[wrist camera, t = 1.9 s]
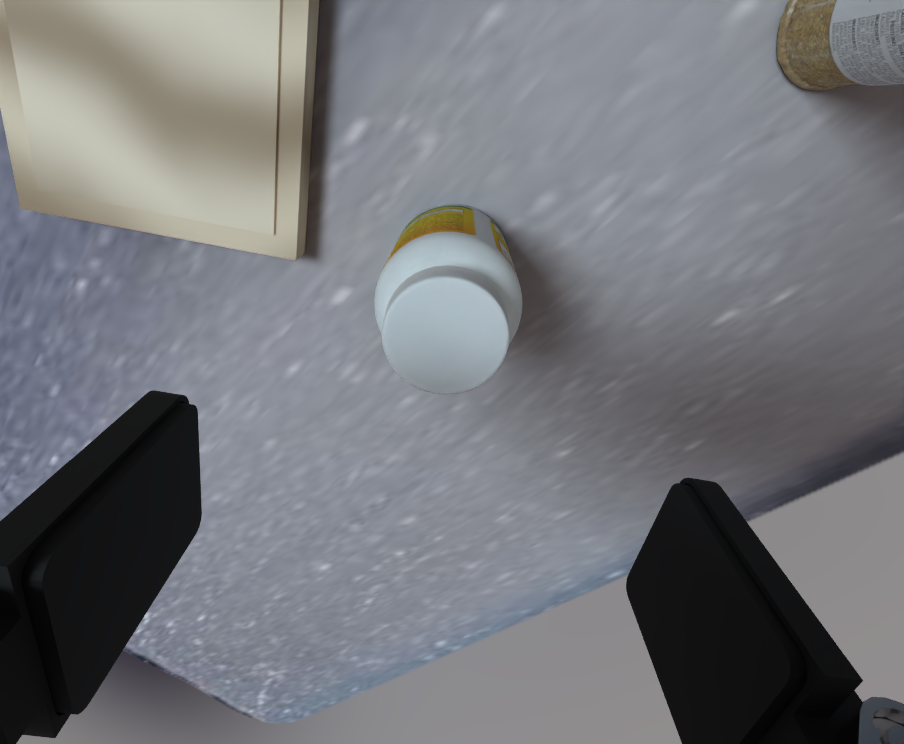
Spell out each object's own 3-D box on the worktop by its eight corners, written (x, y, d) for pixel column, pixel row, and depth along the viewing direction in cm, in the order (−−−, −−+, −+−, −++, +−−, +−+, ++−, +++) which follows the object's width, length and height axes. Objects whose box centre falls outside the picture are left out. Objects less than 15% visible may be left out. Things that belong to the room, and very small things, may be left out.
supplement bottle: (529, 240, 24) (569, 313, 15) (469, 330, 26) (475, 439, 17) (430, 177, 23) (412, 218, 14) (375, 278, 25) (331, 366, 16)
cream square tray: (-15, -143, 18) (-58, -165, 16) (322, -62, 19) (311, -77, 17) (45, 203, 23) (18, 209, 22) (305, 252, 24) (295, 261, 23)
